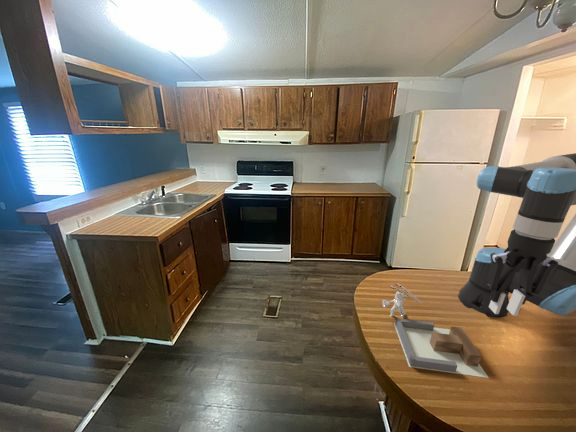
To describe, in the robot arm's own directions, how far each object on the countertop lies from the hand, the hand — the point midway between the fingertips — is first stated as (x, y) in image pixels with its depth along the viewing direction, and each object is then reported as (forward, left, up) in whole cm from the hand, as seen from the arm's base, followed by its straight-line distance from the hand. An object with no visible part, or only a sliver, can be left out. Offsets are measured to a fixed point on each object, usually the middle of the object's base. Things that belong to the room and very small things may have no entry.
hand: (502, 311), depth 63 cm
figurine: (+23, -11, -17) cm, 31 cm away
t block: (+10, 0, -16) cm, 19 cm away
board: (+14, 0, -17) cm, 22 cm away
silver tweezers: (+13, -25, -17) cm, 33 cm away
